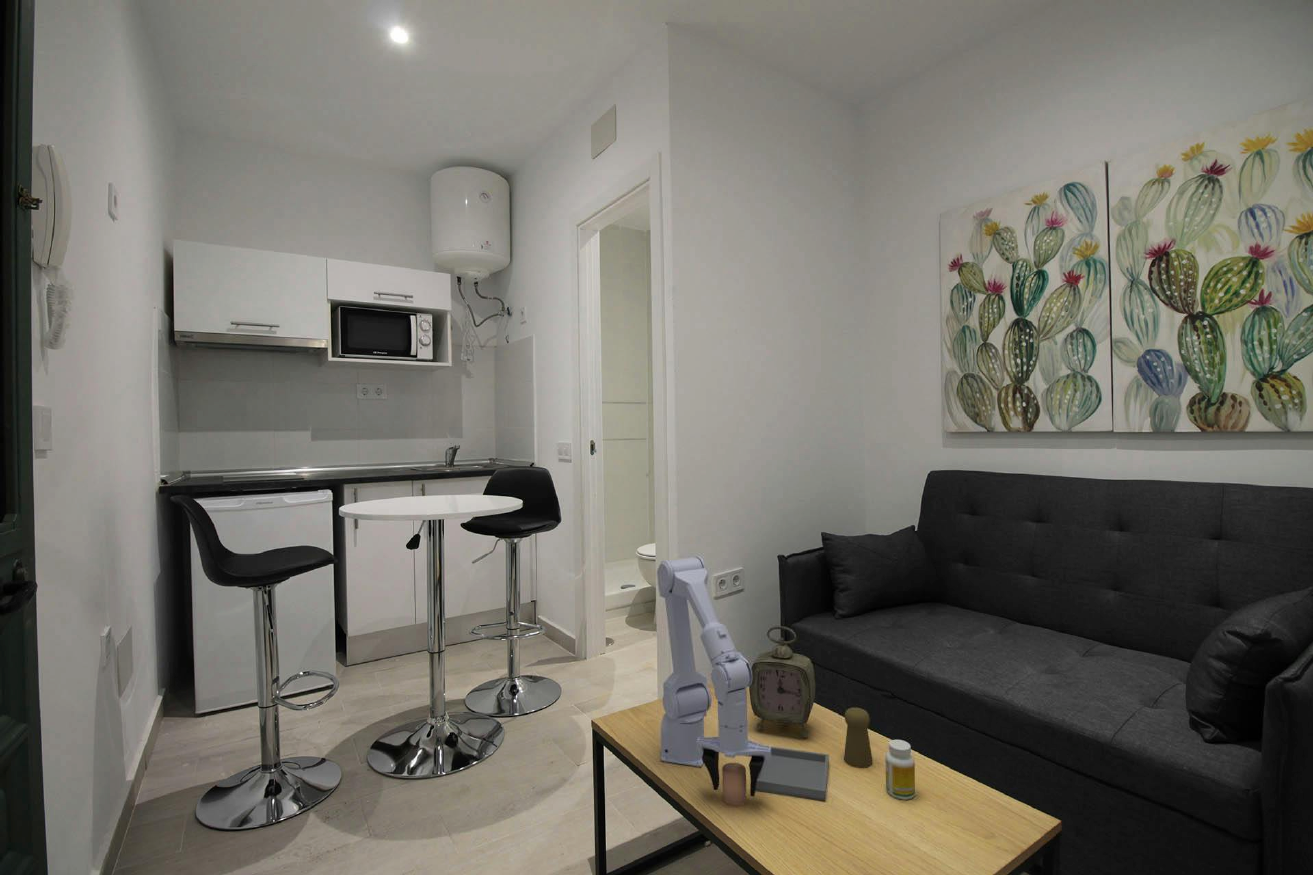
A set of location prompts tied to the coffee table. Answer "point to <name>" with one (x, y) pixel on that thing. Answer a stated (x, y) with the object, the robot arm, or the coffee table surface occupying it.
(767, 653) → the tabletop clock
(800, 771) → the tray
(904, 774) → the supplement bottle
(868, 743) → the brown pawn figure
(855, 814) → the coffee table surface
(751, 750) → the robot arm
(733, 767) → the brown clay cylinder
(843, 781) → the coffee table surface
